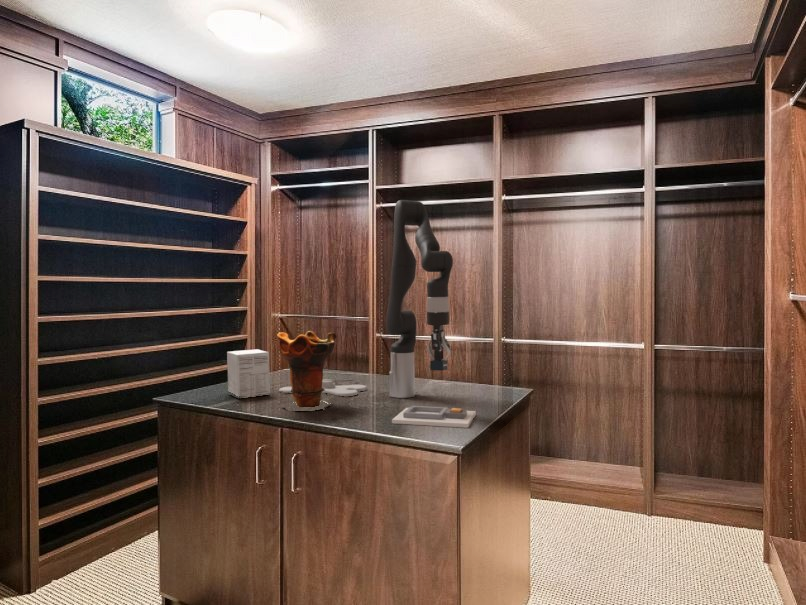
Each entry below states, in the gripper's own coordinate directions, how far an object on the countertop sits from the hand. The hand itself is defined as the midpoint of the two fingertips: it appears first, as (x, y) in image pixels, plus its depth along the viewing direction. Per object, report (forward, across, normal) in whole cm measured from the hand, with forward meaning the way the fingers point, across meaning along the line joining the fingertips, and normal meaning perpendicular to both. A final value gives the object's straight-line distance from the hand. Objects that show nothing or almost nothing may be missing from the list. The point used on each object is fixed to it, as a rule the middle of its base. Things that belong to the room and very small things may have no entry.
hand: (438, 361), depth 188 cm
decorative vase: (+17, -2, -49) cm, 52 cm away
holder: (+17, -30, -54) cm, 64 cm away
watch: (+3, 0, 0) cm, 3 cm away
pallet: (+18, +7, 0) cm, 19 cm away
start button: (+16, +8, +7) cm, 19 cm away
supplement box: (+17, -17, -81) cm, 84 cm away
